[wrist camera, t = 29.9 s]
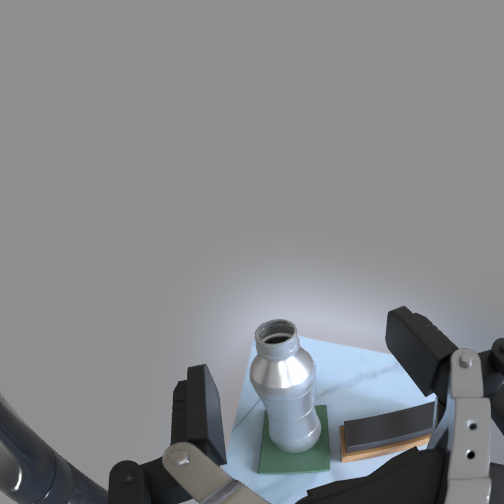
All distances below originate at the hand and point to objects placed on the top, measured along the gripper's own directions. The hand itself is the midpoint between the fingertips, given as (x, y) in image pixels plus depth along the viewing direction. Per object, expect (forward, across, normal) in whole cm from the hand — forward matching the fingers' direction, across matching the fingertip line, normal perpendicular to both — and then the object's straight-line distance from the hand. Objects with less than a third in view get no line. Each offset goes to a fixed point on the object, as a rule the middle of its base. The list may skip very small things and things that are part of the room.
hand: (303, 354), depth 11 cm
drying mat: (+11, 0, +28) cm, 30 cm away
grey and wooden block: (+6, -12, +28) cm, 31 cm away
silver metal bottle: (+11, 0, +28) cm, 30 cm away
